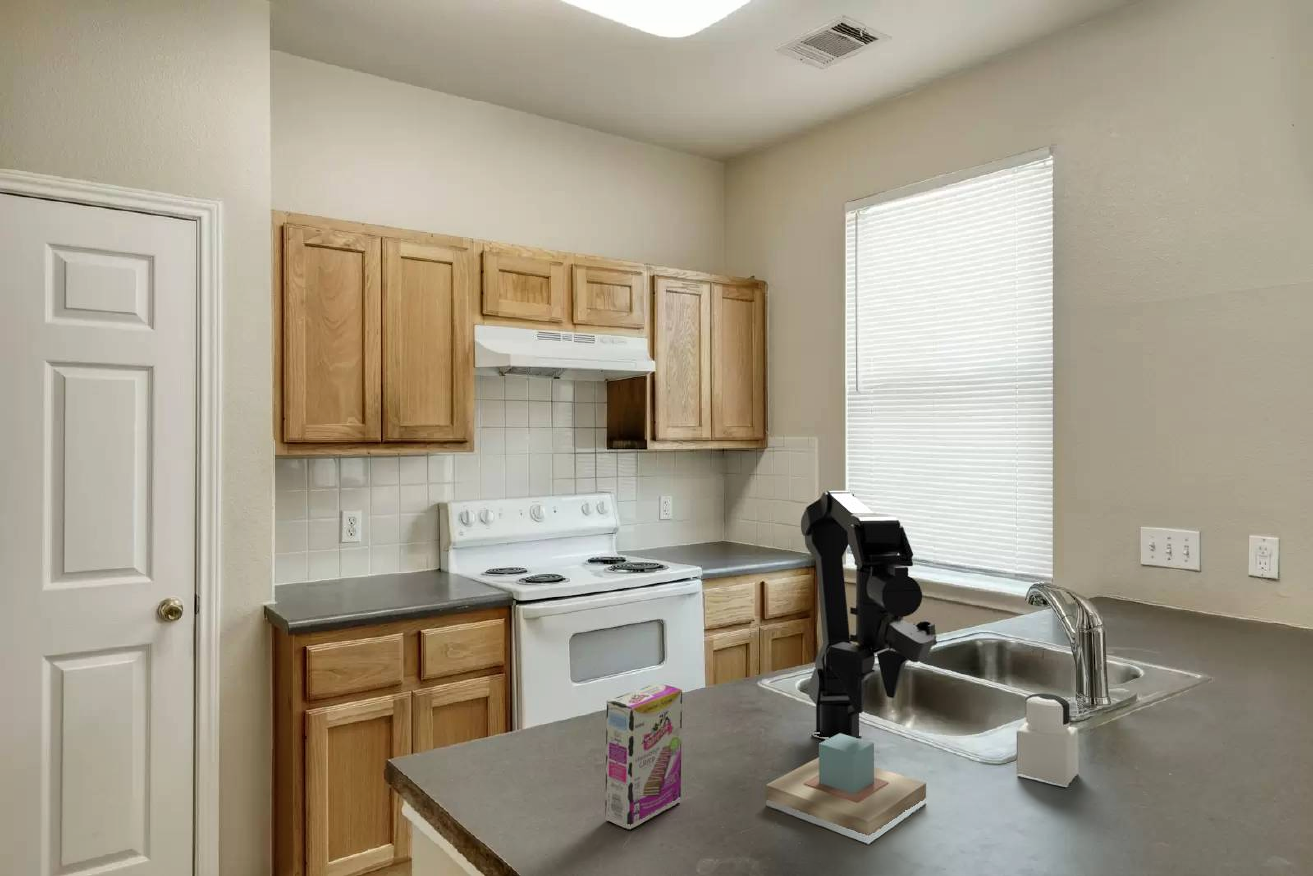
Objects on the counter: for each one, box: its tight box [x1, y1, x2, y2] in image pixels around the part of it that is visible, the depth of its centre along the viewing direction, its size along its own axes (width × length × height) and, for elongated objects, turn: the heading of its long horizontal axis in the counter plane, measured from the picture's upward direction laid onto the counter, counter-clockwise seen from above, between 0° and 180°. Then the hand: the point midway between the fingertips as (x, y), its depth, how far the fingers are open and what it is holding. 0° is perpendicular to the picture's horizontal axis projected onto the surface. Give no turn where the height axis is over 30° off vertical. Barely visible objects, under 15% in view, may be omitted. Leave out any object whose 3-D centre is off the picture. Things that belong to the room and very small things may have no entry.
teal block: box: [818, 733, 875, 794], centre depth 115 cm, size 6×6×6 cm
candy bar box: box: [604, 682, 683, 825], centre depth 113 cm, size 11×5×16 cm, turn 141°
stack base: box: [765, 756, 927, 836], centre depth 115 cm, size 16×16×3 cm
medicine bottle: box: [1016, 692, 1079, 786], centre depth 125 cm, size 7×7×12 cm
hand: (875, 704), depth 123 cm, fingers open, 9 cm apart
